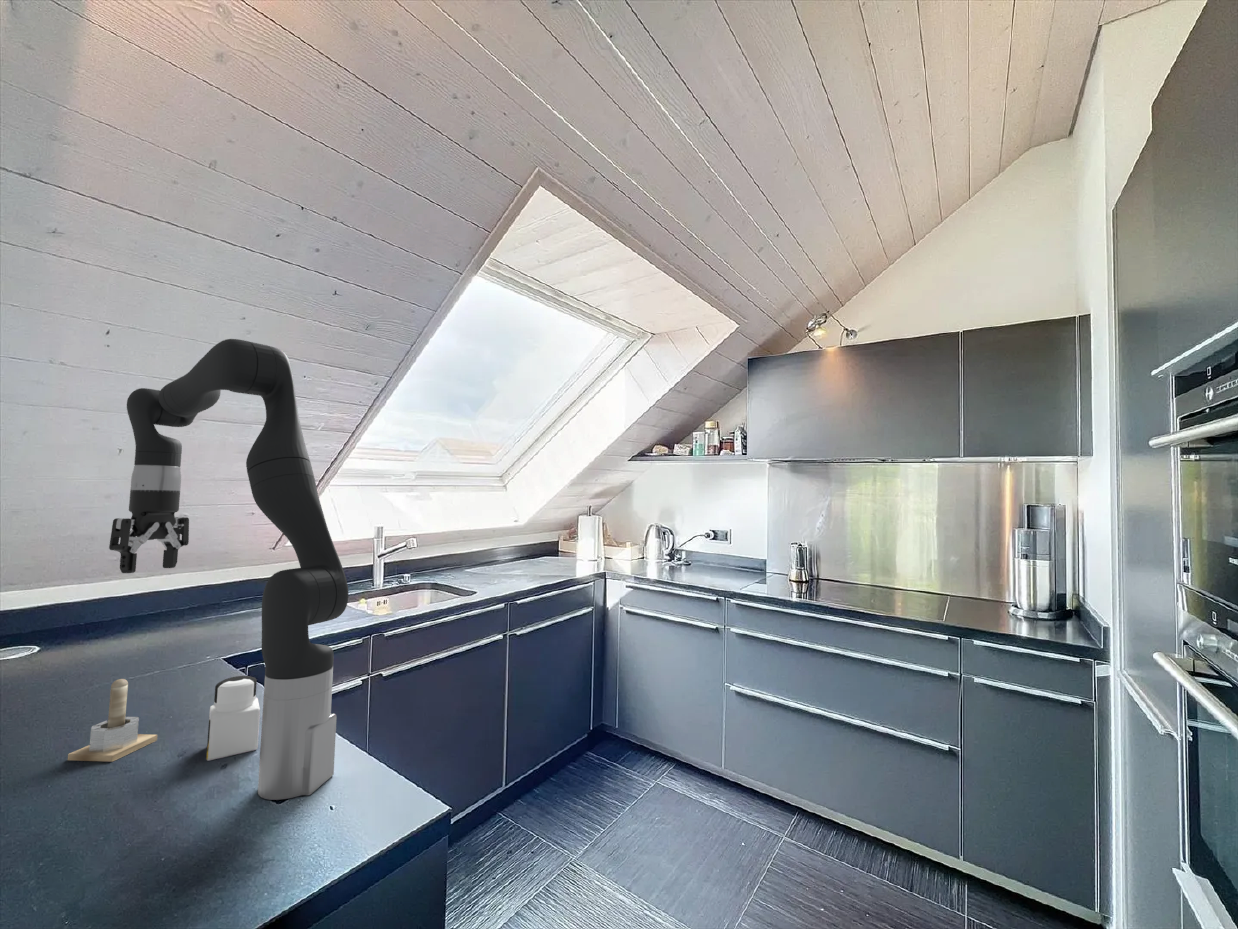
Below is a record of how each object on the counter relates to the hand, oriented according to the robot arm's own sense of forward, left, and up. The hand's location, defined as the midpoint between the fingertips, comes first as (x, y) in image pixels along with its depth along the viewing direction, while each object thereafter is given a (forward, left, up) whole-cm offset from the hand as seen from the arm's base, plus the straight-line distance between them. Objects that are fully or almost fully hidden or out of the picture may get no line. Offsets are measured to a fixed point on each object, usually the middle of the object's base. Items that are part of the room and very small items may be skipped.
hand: (149, 570), depth 103 cm
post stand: (-5, +9, -30) cm, 32 cm away
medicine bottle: (-25, +7, -30) cm, 40 cm away
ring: (-5, +9, -29) cm, 31 cm away
